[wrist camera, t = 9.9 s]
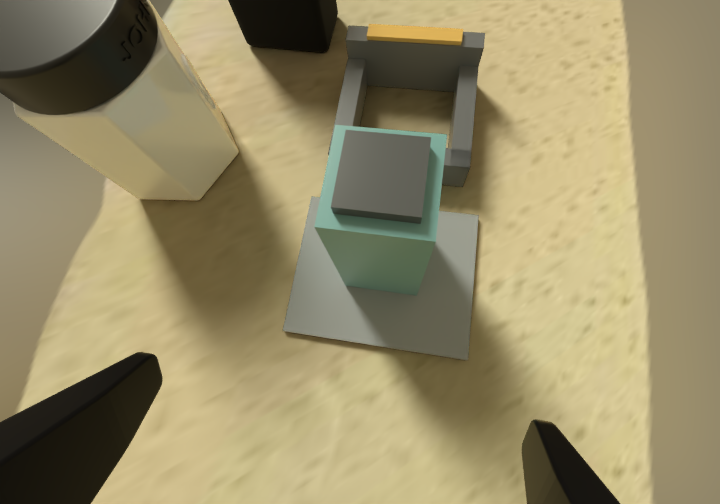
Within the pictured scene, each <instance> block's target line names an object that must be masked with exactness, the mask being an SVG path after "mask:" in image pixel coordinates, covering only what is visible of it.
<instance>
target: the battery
mask: <svg viewBox="0 0 720 504" xmlns="http://www.w3.org/2000/svg"><path fill="white" fill-rule="evenodd" d="M228 1H229V3H230V5H231V8H232V10H233V12H234V14H235V17H236V19H237V21H238V24H239V26H240V28H241V30H242V33H243V35H244V37H245V39H246V41H247V43H248V44H249V45H251V46H257V47H268V48H278V49H289V50H300V51H311V52H326V51H327V50H328V48H329V44H330V41H331V37H332V33H333V30H334V26H335V22H336V19H337V14H338V11H337V4H336V0H228Z"/></svg>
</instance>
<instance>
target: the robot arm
mask: <svg viewBox="0 0 720 504" xmlns="http://www.w3.org/2000/svg"><path fill="white" fill-rule="evenodd" d="M161 385H162V374H161V370H160V366H159V363H158V359H157V357H156V356H155V355H154V354H150V353H144V352H138V353H135V354H133V355H131V356H129V357H127V358H125V359H123V360H121V361H119V362H117V363H115V364H113V365H111V366H110V367H108V368H106V369H104V370H102V371H100V372H98V373H96V374H94V375H92V376H90V377H88V378H86V379H84V380H82V381H80V382H78V383H76V384H74V385H72V386H70V387H68V388H66V389H64V390H62V391H60V392H58V393H57V394H55V395H53V396H51V397H49V398H47V399H45V400H43V401H41V402H39V403H37V404H35V405H33V406H31V407H29V408H27V409H25V410H23V411H21V412H19V413H17V414H15V415H13V416H11V417H9V418H7V419H5V420H4V421H2V422H0V504H91V502H92V501H93V499H94V498H95V496H96V495H97V493H98V492H99V490H100V489H101V487H102V486H103V484H104V483H105V481H106V480H107V478H108V477H109V475H110V474H111V472H112V471H113V469H114V468H115V466H116V465H117V463H118V462H119V460H120V459H121V457H122V456H123V454H124V453H125V451H126V449H127V448H128V446H129V444H130V443H131V441H132V439H133V438H134V436H135V434H136V432H137V430H138V428H139V427H140V425H141V423H142V421H143V419H144V417H145V415H146V414H147V412H148V410H149V408H150V406H151V404H152V402H153V401H154V399H155V397H156V395H157V393H158V391H159V390H160V387H161ZM522 460H523V469H524V479H525V489H526V498H527V504H620V503H619V501H618V500H617V499H616V498H615V497H614V495H613V494H612V493H611V492H610V491H609V489H608V488H607V487H606V486H605V485H604V483H603V482H602V481H601V480H600V478H599V477H598V476H597V475H596V474H595V472H594V471H593V470H592V469H591V468H590V466H589V465H588V464H587V463H586V462H585V460H584V459H583V458H582V457H581V456H580V454H579V453H578V452H577V451H576V449H575V448H574V447H573V446H572V445H571V443H570V442H569V441H568V440H567V439H566V437H565V436H564V435H563V434H562V433H561V431H560V430H559V429H558V428H557V427H556V425H554V424H553V423H552V422H548V421H542V420H536V419H535V420H533V421H531V423H530V425H529V428H528V430H527V433H526V435H525V438H524V440H523V443H522Z"/></svg>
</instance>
